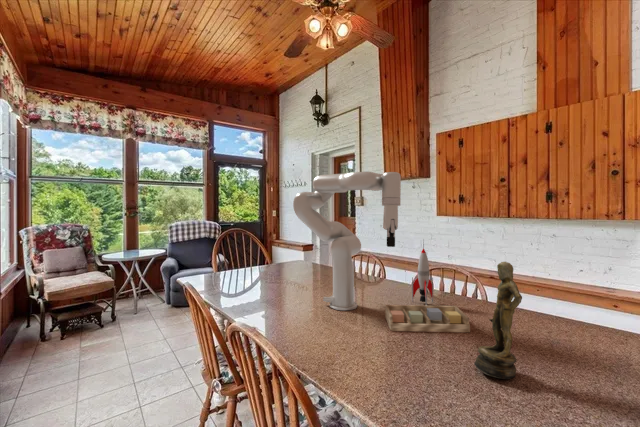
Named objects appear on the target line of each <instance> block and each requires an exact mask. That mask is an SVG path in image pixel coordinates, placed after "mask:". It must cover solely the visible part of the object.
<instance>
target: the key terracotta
mask: <svg viewBox="0 0 640 427" xmlns="http://www.w3.org/2000/svg"><path fill="white" fill-rule="evenodd" d="M390 312H391V314H392V322H403V323H404V314H403V312H402V311H390Z"/></svg>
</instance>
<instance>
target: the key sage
mask: <svg viewBox="0 0 640 427" xmlns="http://www.w3.org/2000/svg"><path fill="white" fill-rule="evenodd" d="M408 316H409V318H410V319H411V323H423V314H422V313H421V312H420V311H408Z"/></svg>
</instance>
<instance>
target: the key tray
mask: <svg viewBox="0 0 640 427" xmlns="http://www.w3.org/2000/svg"><path fill="white" fill-rule="evenodd" d="M384 307H385V308H384V309H385V310H384V316H385V320H386V322H387V326H388V327H389V331H392V332H426V333H427V332H429V333H430V332H433V333H434V332H436V333H437V332H439V333H471V325H470V317H469V316H468V315H467V314H466V313H464V311H463V310H461V309H460V308H459V307H458V306H457V305H427V306H426V305H418V304H417V305H414V304H413V305H412V304H411V305H410V304H407V305H405V304H400V305H399V304H384ZM427 308H438V309H439V310H440V311H441V312H442V320H430V319H429V318H428V316H427ZM390 311H402V312H403V314H404V323H403V322H392V314H391V312H390ZM408 311H420V312H421V313H422V314H423V323H411V319H410V318H409V316H408ZM445 311H457V312H458V313H459V314H460V315H461V323H450V320H449V318H448V317H447V316H446V315H445Z"/></svg>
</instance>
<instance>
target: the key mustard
mask: <svg viewBox="0 0 640 427" xmlns="http://www.w3.org/2000/svg"><path fill="white" fill-rule="evenodd" d="M445 315H446V316H447V317H448V318H449V320H450V323H461V315H460V314H459V313H458V312H457V311H445Z"/></svg>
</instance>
